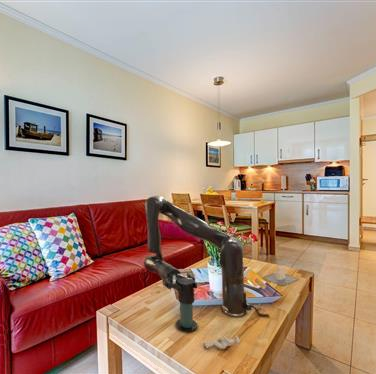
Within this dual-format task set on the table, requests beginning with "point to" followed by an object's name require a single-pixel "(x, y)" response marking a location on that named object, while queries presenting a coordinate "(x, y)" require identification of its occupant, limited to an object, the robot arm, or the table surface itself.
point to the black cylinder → (186, 291)
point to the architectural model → (280, 277)
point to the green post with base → (186, 319)
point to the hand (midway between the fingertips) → (188, 287)
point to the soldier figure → (224, 342)
